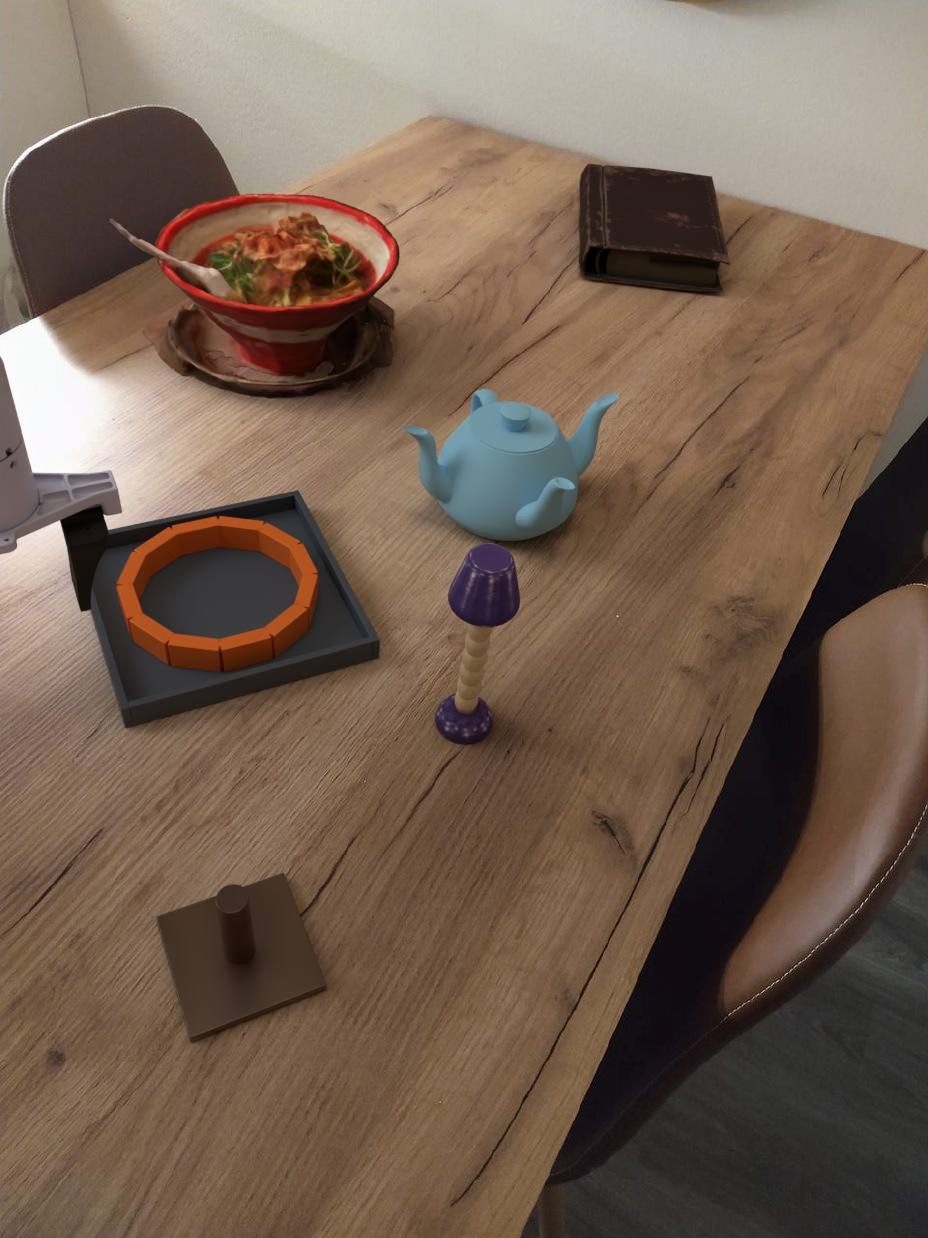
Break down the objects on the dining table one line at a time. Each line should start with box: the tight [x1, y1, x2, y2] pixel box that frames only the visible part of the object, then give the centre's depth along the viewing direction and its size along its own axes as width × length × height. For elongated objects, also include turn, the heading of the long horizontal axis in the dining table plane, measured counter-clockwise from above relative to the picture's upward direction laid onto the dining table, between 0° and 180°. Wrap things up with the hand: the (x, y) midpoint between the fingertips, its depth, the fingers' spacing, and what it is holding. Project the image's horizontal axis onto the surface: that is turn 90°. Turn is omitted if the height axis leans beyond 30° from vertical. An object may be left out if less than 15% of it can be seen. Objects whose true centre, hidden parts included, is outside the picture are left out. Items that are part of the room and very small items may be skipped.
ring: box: [117, 516, 319, 672], centre depth 80 cm, size 15×15×2 cm
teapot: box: [402, 388, 620, 542], centre depth 90 cm, size 15×15×10 cm
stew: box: [107, 193, 401, 399], centre depth 102 cm, size 28×24×16 cm
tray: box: [89, 489, 381, 729], centre depth 80 cm, size 19×19×2 cm
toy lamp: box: [434, 542, 521, 745], centre depth 69 cm, size 5×5×17 cm
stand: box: [155, 872, 327, 1043], centre depth 59 cm, size 8×8×7 cm
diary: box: [578, 163, 731, 293], centre depth 132 cm, size 19×25×5 cm
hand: (21, 615), depth 66 cm, fingers open, 7 cm apart
